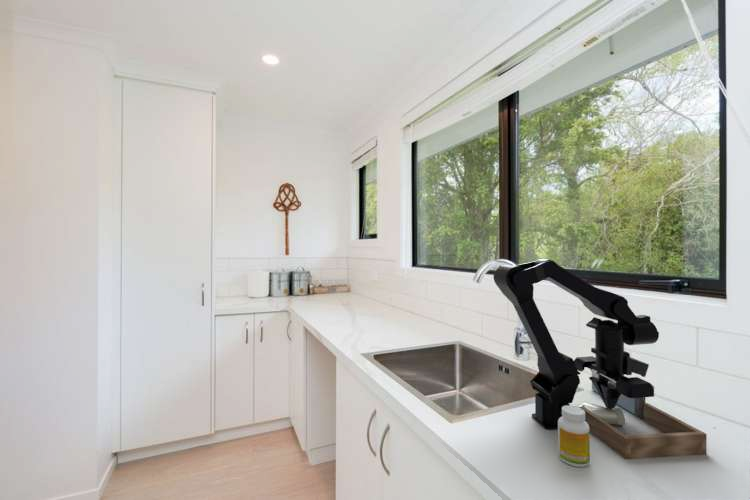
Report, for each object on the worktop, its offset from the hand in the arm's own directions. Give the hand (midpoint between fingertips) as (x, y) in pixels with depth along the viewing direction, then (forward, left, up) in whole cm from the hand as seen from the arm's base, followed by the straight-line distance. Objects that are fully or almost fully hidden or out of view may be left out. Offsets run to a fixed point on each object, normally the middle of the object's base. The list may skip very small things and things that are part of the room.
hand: (610, 410), depth 84 cm
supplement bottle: (-19, -15, -2) cm, 24 cm away
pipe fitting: (-3, -1, -2) cm, 4 cm away
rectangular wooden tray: (-1, -8, -2) cm, 8 cm away
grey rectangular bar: (+7, +8, -2) cm, 11 cm away
